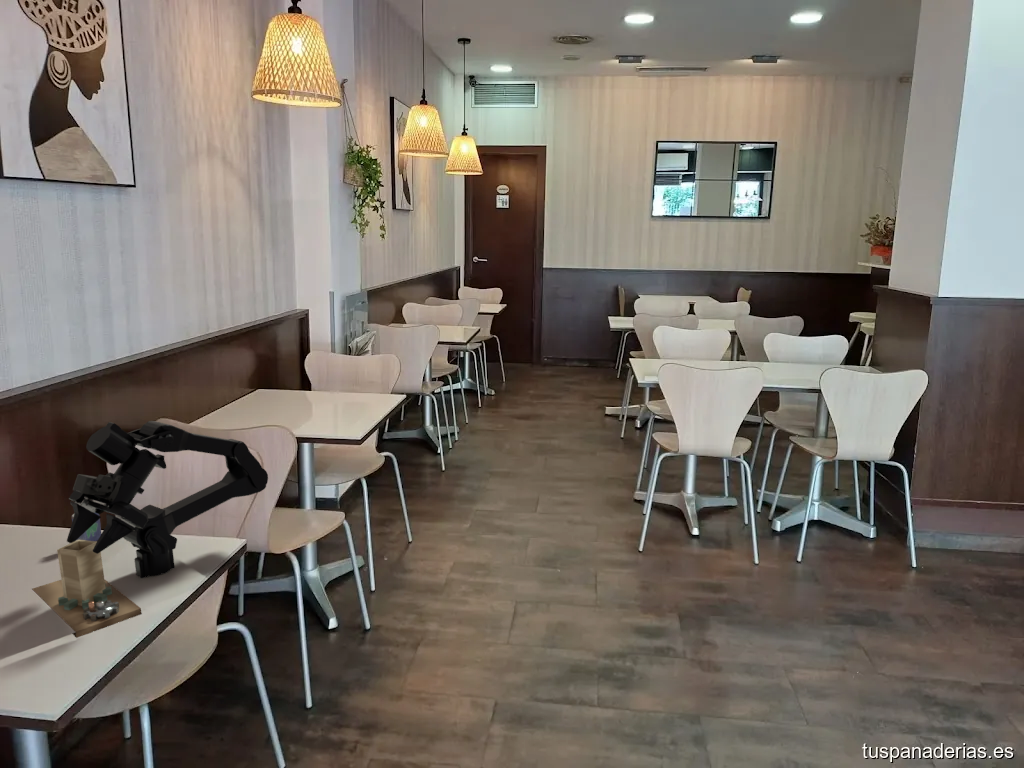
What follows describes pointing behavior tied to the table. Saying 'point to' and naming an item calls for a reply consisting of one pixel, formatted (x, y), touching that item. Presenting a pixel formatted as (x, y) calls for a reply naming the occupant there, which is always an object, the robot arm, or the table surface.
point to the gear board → (75, 615)
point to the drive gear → (100, 610)
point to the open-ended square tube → (81, 575)
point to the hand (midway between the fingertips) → (81, 547)
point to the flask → (91, 532)
